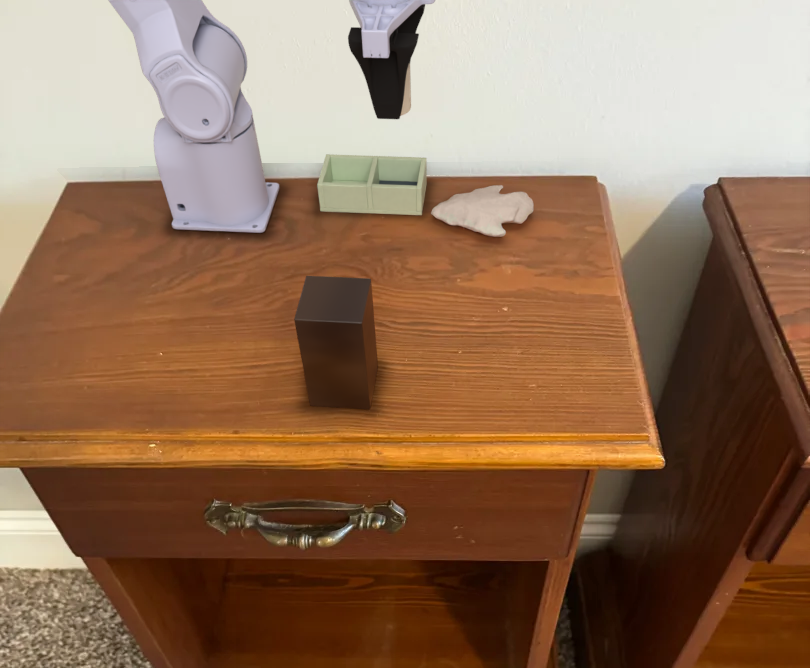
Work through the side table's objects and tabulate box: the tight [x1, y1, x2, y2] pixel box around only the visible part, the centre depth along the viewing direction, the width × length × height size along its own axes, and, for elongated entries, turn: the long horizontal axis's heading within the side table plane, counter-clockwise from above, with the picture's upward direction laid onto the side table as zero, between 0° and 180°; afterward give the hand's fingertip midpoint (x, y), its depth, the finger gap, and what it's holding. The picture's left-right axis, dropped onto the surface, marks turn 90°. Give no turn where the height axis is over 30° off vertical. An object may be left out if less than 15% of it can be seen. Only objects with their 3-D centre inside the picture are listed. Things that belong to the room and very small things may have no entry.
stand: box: [293, 275, 379, 410], centre depth 61 cm, size 5×5×9 cm
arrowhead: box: [430, 184, 534, 238], centre depth 76 cm, size 8×3×10 cm
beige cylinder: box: [400, 62, 412, 117], centre depth 68 cm, size 3×3×4 cm
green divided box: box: [316, 153, 428, 216], centre depth 78 cm, size 10×5×3 cm, turn 84°
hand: (391, 105), depth 70 cm, fingers closed on beige cylinder, 3 cm apart
